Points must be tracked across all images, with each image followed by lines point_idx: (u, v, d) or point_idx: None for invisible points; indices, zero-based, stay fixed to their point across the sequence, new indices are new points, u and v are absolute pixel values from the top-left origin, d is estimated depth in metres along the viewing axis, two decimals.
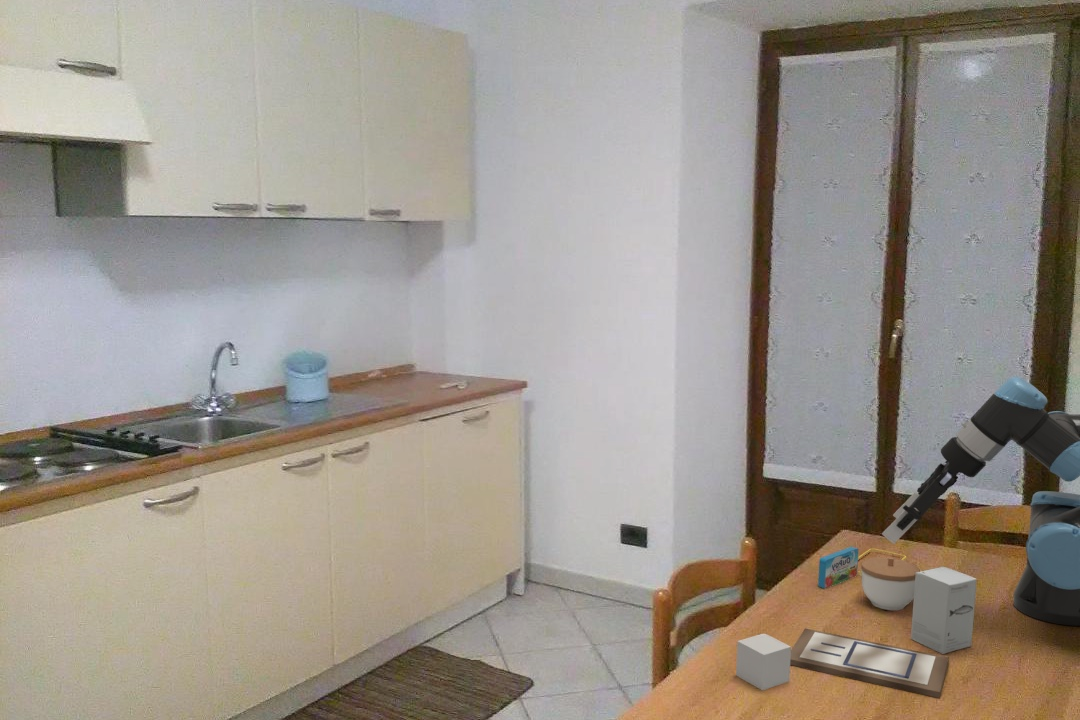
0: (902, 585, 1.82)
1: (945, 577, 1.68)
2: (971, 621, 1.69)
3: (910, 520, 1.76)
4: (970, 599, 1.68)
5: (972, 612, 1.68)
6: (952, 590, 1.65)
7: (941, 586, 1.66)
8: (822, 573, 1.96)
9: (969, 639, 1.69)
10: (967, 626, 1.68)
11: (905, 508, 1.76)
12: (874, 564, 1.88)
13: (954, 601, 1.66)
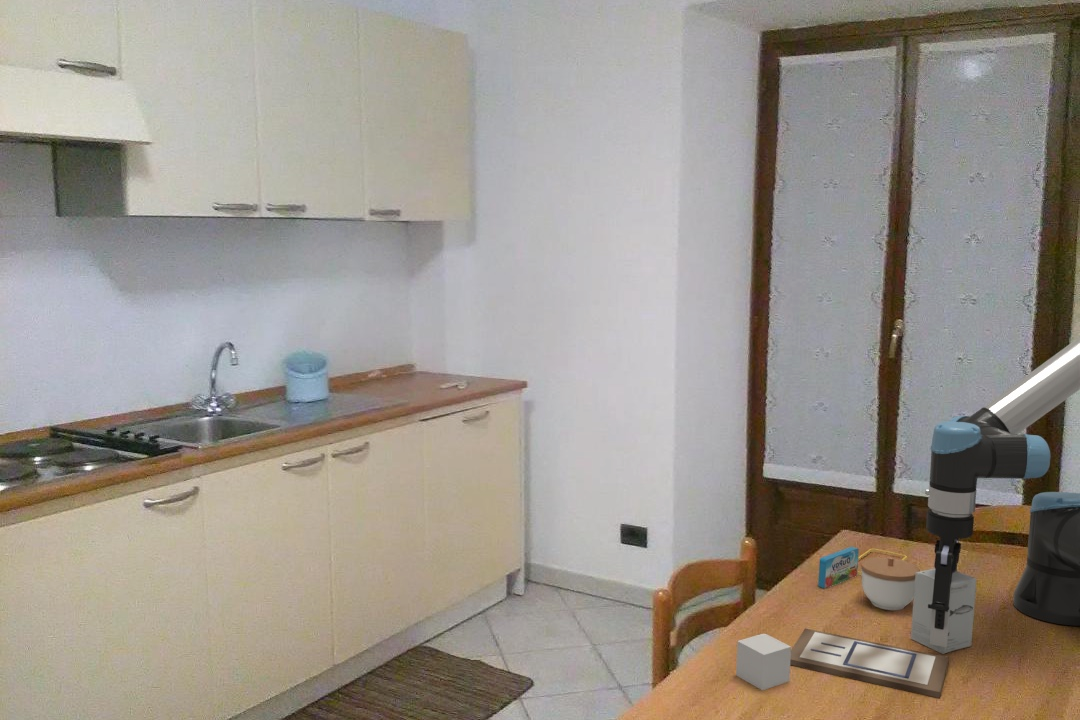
0: (902, 585, 1.82)
1: None
2: (971, 620, 1.69)
3: (942, 615, 1.64)
4: (970, 599, 1.68)
5: (972, 612, 1.68)
6: (952, 590, 1.65)
7: None
8: (822, 573, 1.96)
9: (969, 639, 1.69)
10: (967, 626, 1.68)
11: (930, 607, 1.65)
12: (874, 564, 1.88)
13: (954, 601, 1.66)
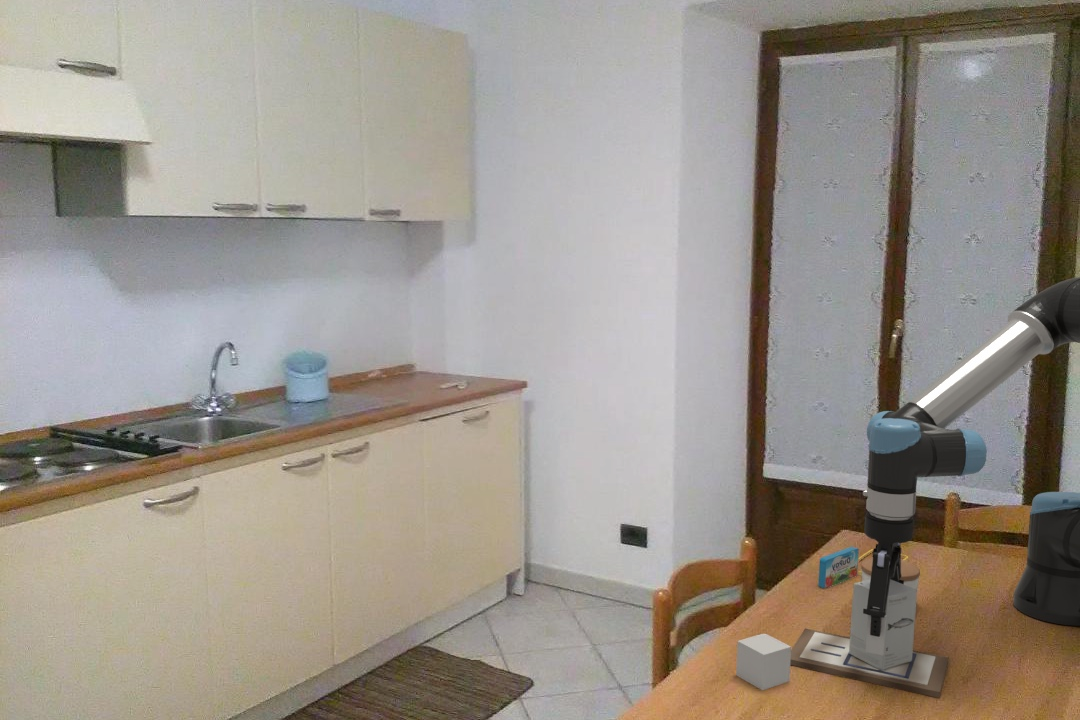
0: None
1: None
2: (911, 634, 1.59)
3: (878, 621, 1.53)
4: (910, 611, 1.58)
5: (913, 626, 1.59)
6: (891, 603, 1.56)
7: None
8: (822, 573, 1.96)
9: (909, 654, 1.60)
10: (907, 640, 1.59)
11: (865, 612, 1.53)
12: None
13: (892, 614, 1.56)
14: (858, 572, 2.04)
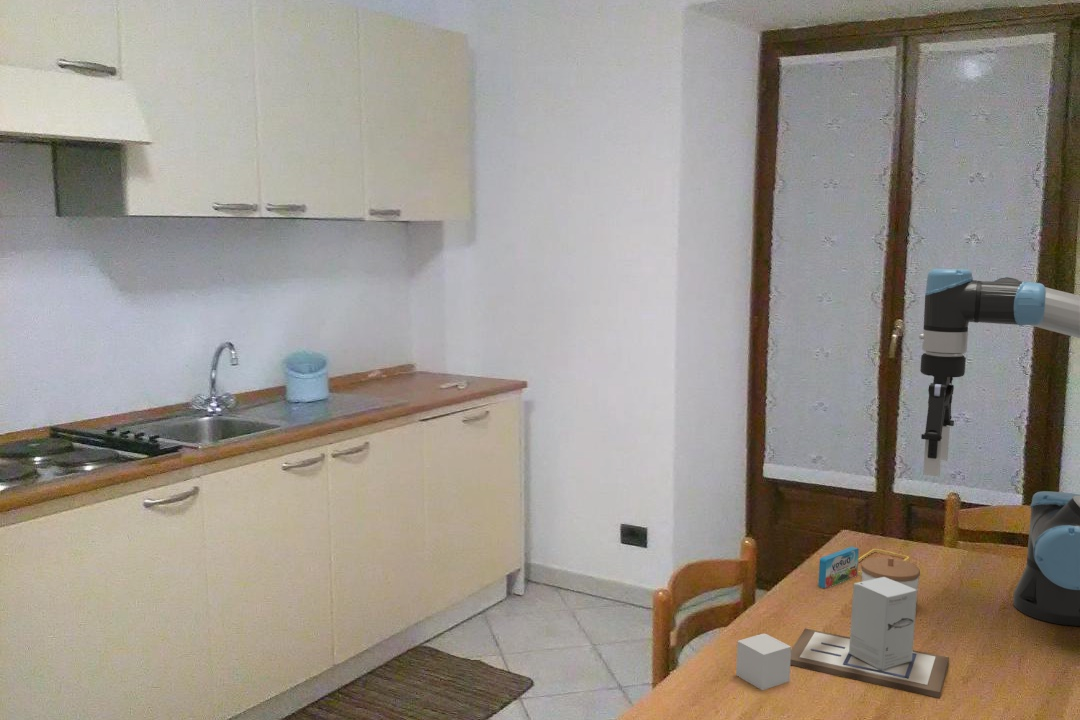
0: None
1: (884, 588, 1.59)
2: (911, 634, 1.59)
3: (935, 444, 1.71)
4: (910, 611, 1.58)
5: (913, 626, 1.59)
6: (891, 603, 1.56)
7: (879, 598, 1.57)
8: (822, 573, 1.96)
9: (909, 654, 1.60)
10: (907, 640, 1.59)
11: (923, 437, 1.72)
12: (874, 564, 1.88)
13: (892, 614, 1.56)
14: (859, 572, 2.04)
